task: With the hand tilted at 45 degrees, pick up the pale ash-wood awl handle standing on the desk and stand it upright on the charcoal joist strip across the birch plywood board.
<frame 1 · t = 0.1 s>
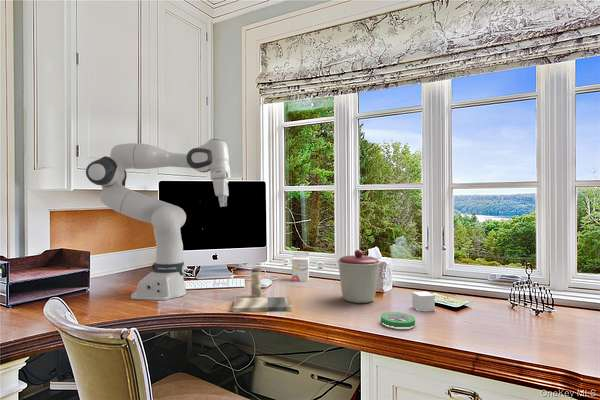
hand: (223, 206, 161), 39 cm above the table, tool pointing down, fingers open, 8 cm apart
adhesive note: (423, 309, 140), on the table
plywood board: (262, 306, 143), on the table
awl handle: (256, 296, 156), on the table
tape roll: (397, 325, 123), on the table
ink cartridge box: (300, 280, 189), on the table
canister: (358, 300, 152), on the table
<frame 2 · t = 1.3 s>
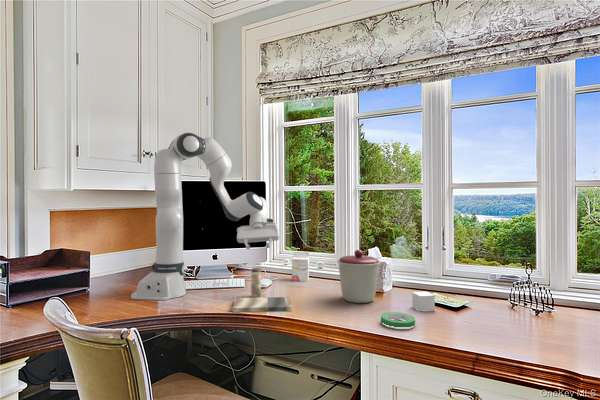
hand: (258, 247, 168), 20 cm above the table, tool tilted 45°, fingers open, 8 cm apart
nothing on the table moved.
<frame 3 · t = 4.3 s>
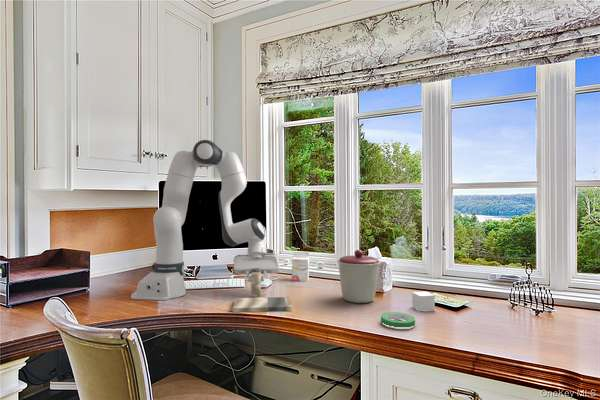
hand: (256, 280, 156), 7 cm above the table, tool tilted 45°, fingers closed on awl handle, 4 cm apart
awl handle: (256, 296, 156), on the table, touching gripper
everything else where it was.
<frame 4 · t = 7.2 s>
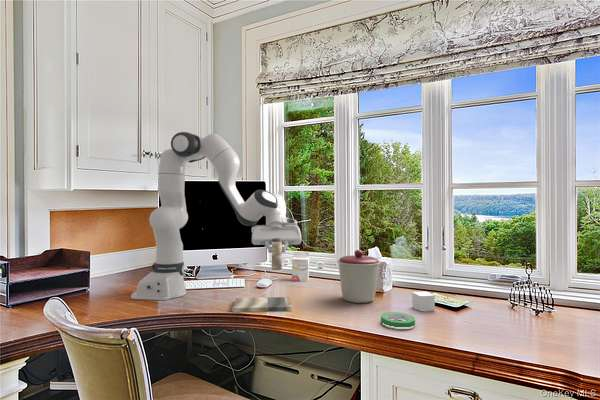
hand: (276, 251, 143), 21 cm above the table, tool tilted 45°, fingers closed on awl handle, 4 cm apart
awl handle: (276, 269, 143), point 14 cm above the table, touching gripper
everything else where it was.
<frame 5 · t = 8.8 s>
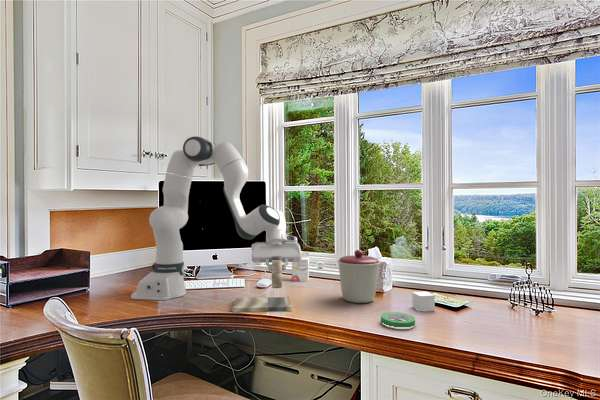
hand: (277, 269, 143), 14 cm above the table, tool tilted 45°, fingers closed on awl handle, 4 cm apart
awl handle: (277, 287, 143), point 7 cm above the table, touching gripper
everything else where it was.
when the fingers open (10 cm above the table, at t = 10.2 s): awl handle drops 1 cm, resting on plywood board.
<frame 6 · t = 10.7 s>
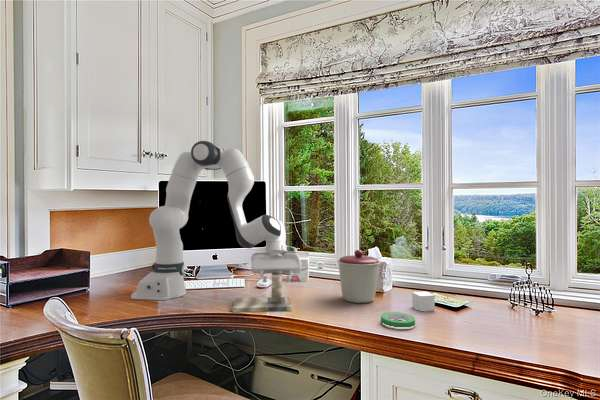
hand: (276, 281, 143), 10 cm above the table, tool tilted 45°, fingers open, 8 cm apart
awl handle: (276, 301, 143), point 2 cm above the table, touching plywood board
everything else where it was.
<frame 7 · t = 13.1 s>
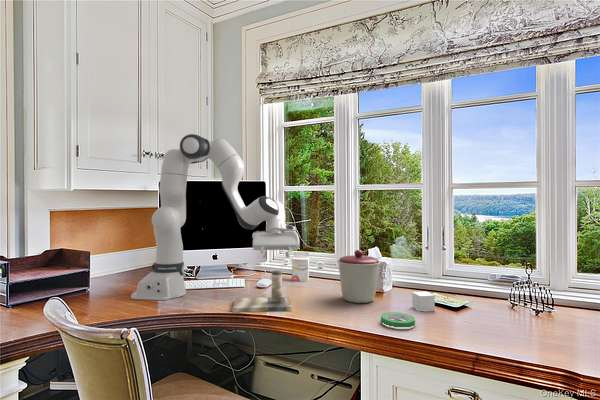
hand: (276, 256, 151), 18 cm above the table, tool tilted 45°, fingers open, 8 cm apart
nothing on the table moved.
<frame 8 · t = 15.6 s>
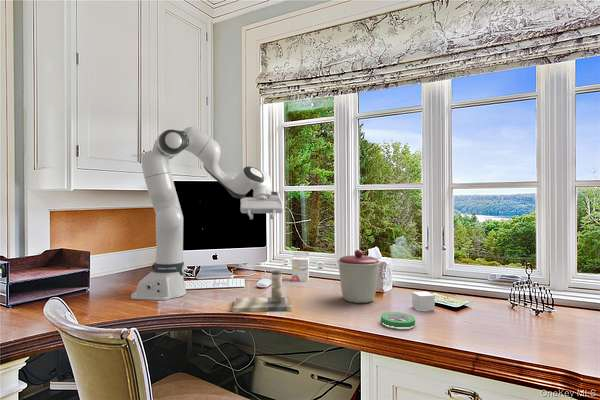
hand: (261, 218, 167), 33 cm above the table, tool tilted 45°, fingers open, 8 cm apart
nothing on the table moved.
at the end: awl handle inside the target area (0.0 cm from its centre), point 1.5 cm above the table; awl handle tilted 1°; the gripper is holding nothing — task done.
